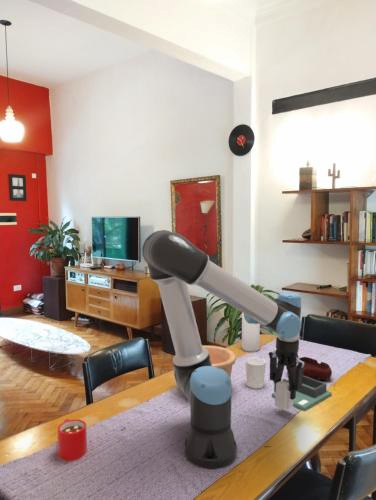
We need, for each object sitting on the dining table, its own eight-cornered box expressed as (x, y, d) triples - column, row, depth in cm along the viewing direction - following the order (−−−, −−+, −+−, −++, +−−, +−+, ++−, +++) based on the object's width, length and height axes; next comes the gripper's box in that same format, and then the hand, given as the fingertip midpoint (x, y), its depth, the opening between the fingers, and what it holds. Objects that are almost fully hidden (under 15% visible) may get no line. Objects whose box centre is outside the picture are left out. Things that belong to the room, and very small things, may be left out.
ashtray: (325, 368, 175) (325, 357, 175) (333, 384, 159) (334, 372, 159) (284, 365, 178) (284, 355, 177) (288, 381, 162) (288, 369, 161)
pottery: (172, 400, 145) (172, 363, 143) (186, 376, 166) (186, 343, 164) (231, 407, 139) (231, 368, 138) (238, 381, 161) (238, 347, 159)
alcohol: (249, 345, 204) (250, 288, 201) (262, 349, 198) (264, 290, 195) (238, 348, 199) (238, 290, 196) (251, 353, 192) (252, 293, 189)
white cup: (264, 381, 161) (264, 357, 160) (266, 390, 153) (266, 365, 152) (244, 380, 162) (245, 356, 161) (245, 389, 154) (246, 364, 153)
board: (304, 411, 137) (304, 399, 137) (271, 396, 148) (272, 385, 147) (331, 395, 149) (331, 384, 148) (299, 383, 159) (299, 373, 159)
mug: (76, 434, 123) (76, 410, 122) (90, 454, 113) (90, 428, 112) (51, 443, 118) (50, 418, 118) (63, 464, 108) (62, 437, 108)
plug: (284, 410, 132) (285, 386, 131) (274, 405, 135) (276, 382, 134) (293, 405, 135) (294, 382, 135) (283, 401, 138) (284, 378, 138)
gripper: (316, 342, 129) (312, 411, 131) (273, 330, 142) (270, 392, 144) (303, 347, 124) (299, 418, 126) (260, 333, 137) (257, 398, 139)
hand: (284, 404), depth 135 cm, fingers closed on plug, 4 cm apart
